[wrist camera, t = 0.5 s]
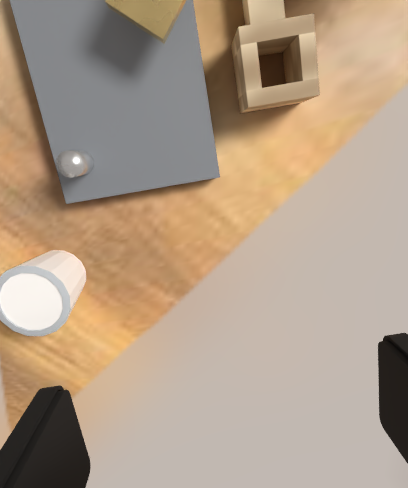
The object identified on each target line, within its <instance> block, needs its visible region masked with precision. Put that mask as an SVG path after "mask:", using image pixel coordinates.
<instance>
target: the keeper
mask: <svg viewBox="0 0 408 488" xmlns="http://www.w3.org/2000/svg"><path fill="white" fill-rule="evenodd" d="M105 2H106V4H107V6H108V7H109V8H110V9H111V10H113V11H114V12H116V13H117V14H119V15H120V16H122V17H123V18H125V19H127V20H128V21H130V22H131V23H133V24H134V25H136V26H137V27H139V28H140V29H142V30H143V31H145V32H146V33H148V34H149V35H151V36H153V37H154V38H156V39H157V40H159V41H160V42H162V43H163V44H165V42H166V40H167V38H168V36H169V34H170V32H171V30H172V28H173V26H174V24H175V22H176V20H177V18H178V16H179V14H180V12H181V10H182V8H183V6H184V4H185V2H186V0H105Z"/></svg>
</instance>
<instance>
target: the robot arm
mask: <svg viewBox="0 0 408 488" xmlns="http://www.w3.org/2000/svg"><path fill="white" fill-rule="evenodd" d="M378 361H379V362H378V365H379V412H380V413H379V415H380V421H381V424H382V426H383V428H384V430H385V431H386V433H387V434H388V436H389V437H390V439H391V440H392V441H393V443H394V444H395V446H396V447H397V449H398V450H399V452H400V453H401V455H402V456H403V457H404V459H405V460H406V462H407V463H408V334H406V333H400V334H394V335H388V336H385V337H384V338H383V341H382V342H379V344H378ZM89 473H90V459H89V456H88V452H87V449H86V446H85V442H84V439H83V436H82V432H81V429H80V426H79V422H78V419H77V415H76V412H75V409H74V405H73V402H72V399H71V395H70V393H69V391H68V390H64V389H63V387H62V386H54V387H47V388H42V389H40V390H39V391H38V392H37V394H36V395H35V397H34V398H33V400H32V401H31V403H30V405H29V406H28V408H27V409H26V411H25V412H24V414H23V416H22V417H21V419H20V420H19V422H18V423H17V425H16V426H15V428H14V430H13V431H12V433H11V434H10V436H9V437H8V439H7V441H6V442H5V444H4V445H3V447H2V449H1V450H0V488H85V487H86V483H87V480H88V477H89Z"/></svg>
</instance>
